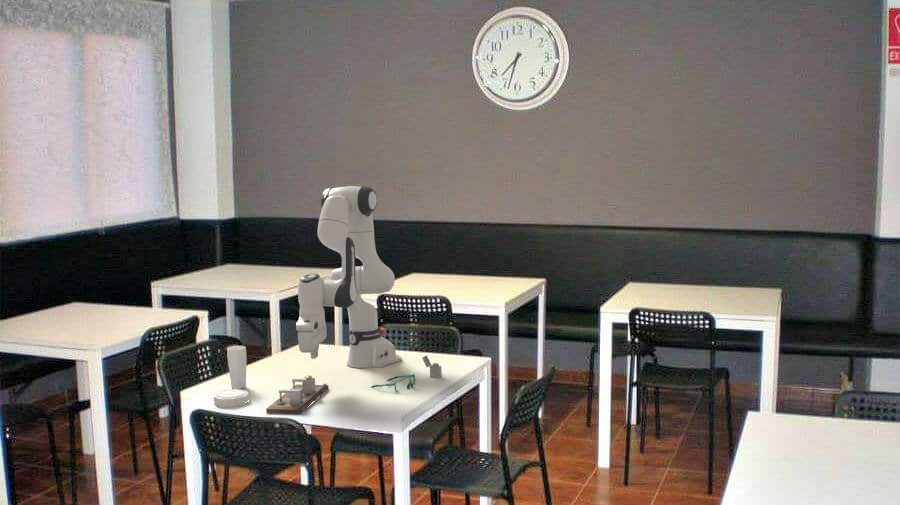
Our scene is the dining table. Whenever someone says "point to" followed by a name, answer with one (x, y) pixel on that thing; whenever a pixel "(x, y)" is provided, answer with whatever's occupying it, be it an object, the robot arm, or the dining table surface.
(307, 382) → the slider leg
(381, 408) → the dining table surface
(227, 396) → the white round disc
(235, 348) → the drinking glass
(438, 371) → the lighter
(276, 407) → the gauge board
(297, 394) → the fixed leg
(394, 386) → the teal eyeglasses
